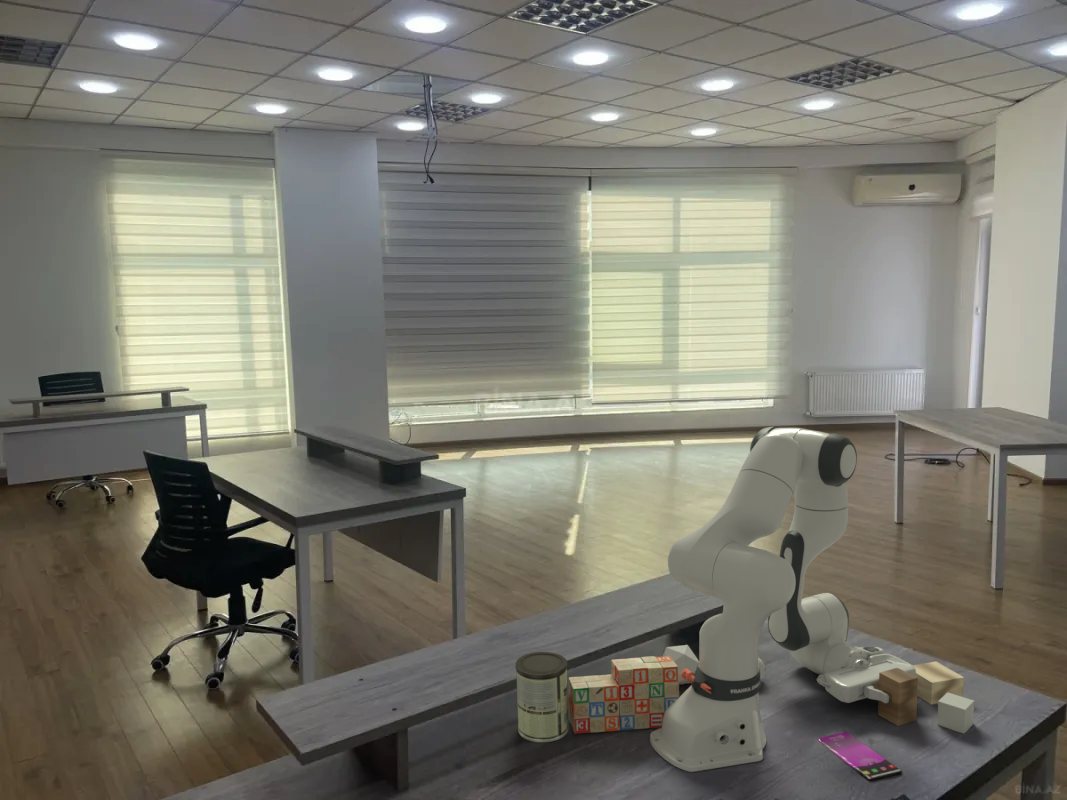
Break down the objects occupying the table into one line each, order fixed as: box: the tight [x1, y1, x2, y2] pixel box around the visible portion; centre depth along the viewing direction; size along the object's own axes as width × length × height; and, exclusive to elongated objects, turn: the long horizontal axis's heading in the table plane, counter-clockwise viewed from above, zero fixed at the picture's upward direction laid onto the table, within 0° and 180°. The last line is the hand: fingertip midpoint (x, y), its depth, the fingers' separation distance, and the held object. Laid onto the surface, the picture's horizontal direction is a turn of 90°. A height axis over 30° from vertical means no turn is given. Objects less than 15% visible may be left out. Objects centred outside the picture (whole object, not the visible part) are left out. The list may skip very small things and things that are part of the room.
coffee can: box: [515, 651, 570, 743], centre depth 164 cm, size 10×10×14 cm
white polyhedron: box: [661, 644, 699, 686], centre depth 183 cm, size 8×9×10 cm
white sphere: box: [758, 657, 766, 680], centre depth 184 cm, size 8×6×6 cm
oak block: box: [912, 661, 965, 706], centre depth 175 cm, size 8×8×5 cm
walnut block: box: [877, 668, 918, 727], centre depth 165 cm, size 5×5×9 cm
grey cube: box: [936, 692, 975, 734], centre depth 162 cm, size 5×5×5 cm
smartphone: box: [816, 731, 903, 782], centre depth 152 cm, size 7×15×1 cm, turn 17°
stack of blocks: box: [568, 655, 680, 734], centre depth 165 cm, size 21×6×12 cm, turn 96°
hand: (901, 695), depth 164 cm, fingers closed on walnut block, 5 cm apart
